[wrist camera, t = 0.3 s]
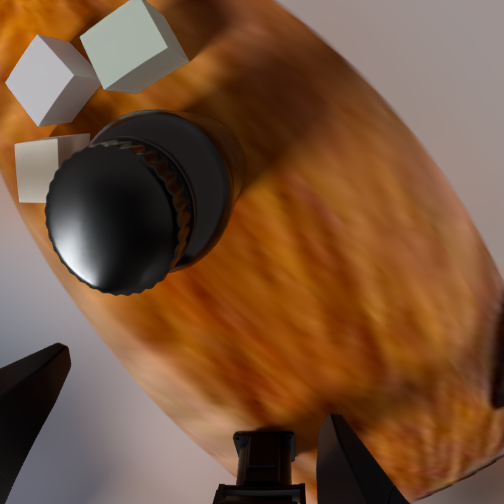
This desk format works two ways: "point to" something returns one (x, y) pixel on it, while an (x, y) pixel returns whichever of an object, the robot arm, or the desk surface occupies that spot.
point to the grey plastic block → (52, 81)
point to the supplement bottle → (144, 199)
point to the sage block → (133, 48)
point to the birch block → (43, 163)
